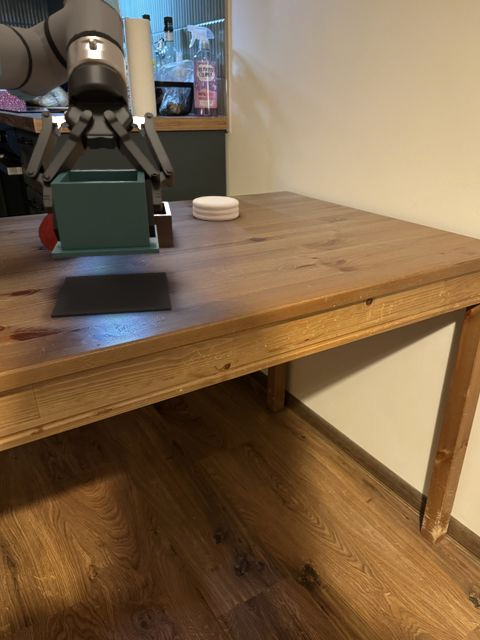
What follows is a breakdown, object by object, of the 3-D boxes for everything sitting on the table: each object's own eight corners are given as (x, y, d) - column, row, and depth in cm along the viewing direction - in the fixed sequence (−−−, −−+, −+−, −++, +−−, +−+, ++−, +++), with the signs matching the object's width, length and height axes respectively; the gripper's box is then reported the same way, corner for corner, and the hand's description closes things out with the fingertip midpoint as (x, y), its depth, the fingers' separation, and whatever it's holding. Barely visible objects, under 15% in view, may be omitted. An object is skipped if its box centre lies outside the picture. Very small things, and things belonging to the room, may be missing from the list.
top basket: (65, 232, 67) (55, 169, 63) (156, 228, 69) (151, 168, 66) (52, 258, 56) (38, 185, 53) (159, 253, 59) (154, 183, 55)
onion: (35, 259, 78) (24, 207, 75) (60, 250, 83) (51, 201, 80) (65, 264, 77) (56, 211, 73) (89, 254, 82) (81, 204, 78)
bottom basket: (107, 233, 94) (103, 202, 91) (169, 231, 96) (168, 201, 93) (103, 250, 84) (99, 217, 81) (173, 248, 86) (171, 215, 83)
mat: (66, 279, 71) (65, 276, 70) (166, 274, 74) (165, 271, 73) (51, 318, 59) (50, 315, 58) (171, 311, 61) (171, 308, 61)
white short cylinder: (246, 219, 107) (247, 202, 105) (203, 223, 102) (203, 206, 101) (226, 210, 114) (226, 194, 113) (186, 213, 110) (185, 197, 108)
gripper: (-5, 58, 60) (-7, 219, 54) (184, 64, 64) (202, 213, 58) (14, 106, 67) (14, 253, 61) (183, 108, 72) (199, 245, 65)
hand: (106, 233), depth 59 cm, fingers closed on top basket, 10 cm apart
